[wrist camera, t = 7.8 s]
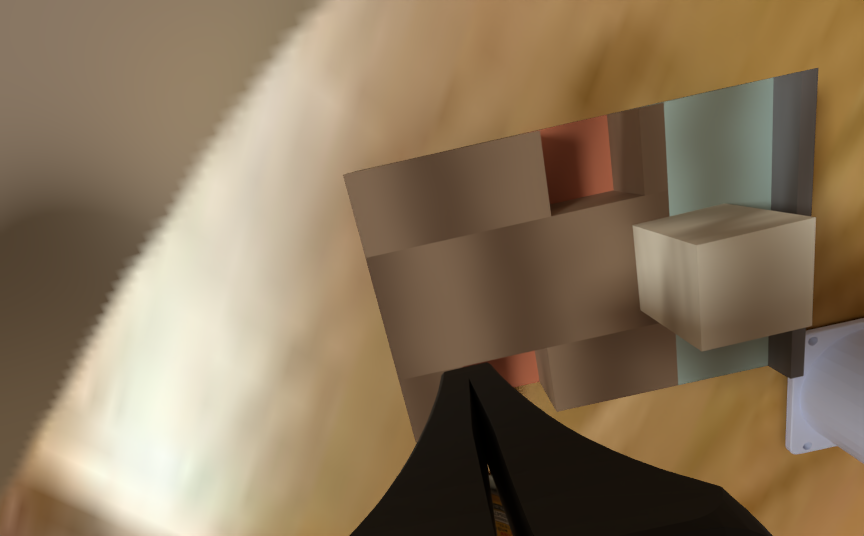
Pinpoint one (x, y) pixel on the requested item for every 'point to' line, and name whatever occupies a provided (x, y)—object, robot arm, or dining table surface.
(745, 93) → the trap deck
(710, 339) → the block
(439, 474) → the robot arm
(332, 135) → the dining table surface
